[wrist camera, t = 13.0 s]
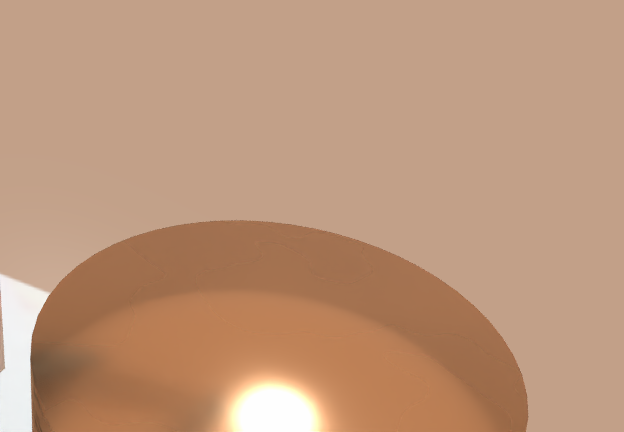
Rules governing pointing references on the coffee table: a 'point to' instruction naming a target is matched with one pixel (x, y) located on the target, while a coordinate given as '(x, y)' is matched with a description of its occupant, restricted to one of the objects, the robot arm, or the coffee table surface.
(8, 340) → the coffee table surface
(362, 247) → the brushed copper cylinder
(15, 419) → the coffee table surface
